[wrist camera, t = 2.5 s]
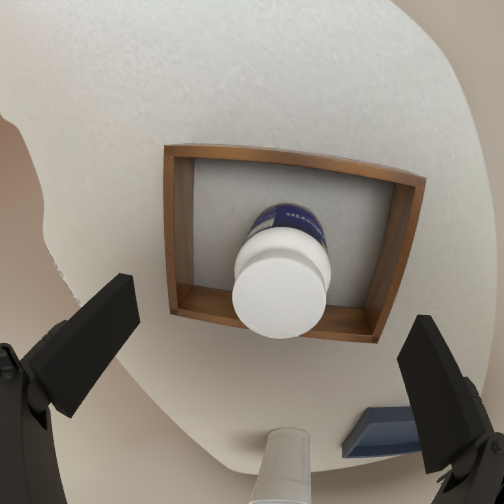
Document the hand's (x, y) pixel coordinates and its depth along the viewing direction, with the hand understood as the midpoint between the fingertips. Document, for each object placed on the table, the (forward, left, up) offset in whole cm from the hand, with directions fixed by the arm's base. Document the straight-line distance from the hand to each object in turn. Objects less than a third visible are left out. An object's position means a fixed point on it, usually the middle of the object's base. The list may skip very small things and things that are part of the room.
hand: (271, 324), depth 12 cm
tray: (-22, +27, -12) cm, 37 cm away
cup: (-5, +31, -12) cm, 34 cm away
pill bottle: (0, 0, -12) cm, 12 cm away
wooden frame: (0, 0, -12) cm, 12 cm away
